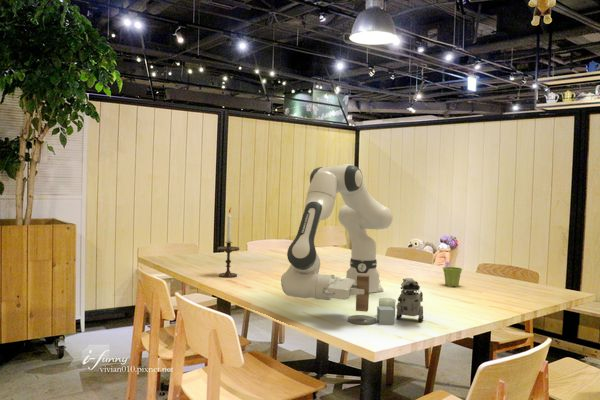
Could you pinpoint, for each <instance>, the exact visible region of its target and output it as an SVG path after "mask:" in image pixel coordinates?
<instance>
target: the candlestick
mask: <svg viewBox="0 0 600 400" xmlns="http://www.w3.org/2000/svg"><path fill="white" fill-rule="evenodd" d="M231 210H232V208H231V207H230V208H229V210H228V214H227V219H226V220H227V224H226V228H227V229H226V242H224V243H226V246H218V247H217V251H221V252H225V253H226V260H225V264H226V265H225V267H226V271H225V272H221V273H218V277H220V278H227V279H229V278H236V277H238V274H237V273H234V272H232V271H230V270H231V269H230V268H231V263H232V260H231V258H230V257H231V253H232V252H237V251H240V247H238V246H232V245H231V244H233V242H232V240H231V239H232V237H231V236H232V215H231Z"/></svg>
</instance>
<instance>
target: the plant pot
mask: <svg viewBox="0 0 600 400" xmlns="http://www.w3.org/2000/svg"><path fill="white" fill-rule="evenodd" d="M462 270H463V268H462V267H459V266H458V267H457V266H444V267H442V271H443V273H444V283H445V286H446V287H450V288H453V287H456V288H457V287H459V285H460V279H461V273H462Z"/></svg>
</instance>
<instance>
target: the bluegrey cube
mask: <svg viewBox="0 0 600 400" xmlns="http://www.w3.org/2000/svg"><path fill="white" fill-rule="evenodd" d="M376 307H377V308H376V319H377V322H378V324H379V325H395V317H394V314H395V315H396V309H395V310H394V309H393V308H392V307H382V306H379V305H378V306H376Z"/></svg>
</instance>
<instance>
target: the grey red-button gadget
mask: <svg viewBox="0 0 600 400" xmlns="http://www.w3.org/2000/svg"><path fill="white" fill-rule="evenodd" d="M400 285H401V286H400V295H399V296H398V298H397V304H395V309H396V314H395V319H396V320H400V319H401V318H402V317H403V316H406V317H417V316H418V318H417V322H418V323H423V321H424V306H423V305H421V303H422V302H424V301H423V299H424V297H423V292H422V291H420V288H421V286H420V284H419V282H418V281H417V280H414V278H412V277H411V278H410V277H407V278H402V283H401V284H400Z"/></svg>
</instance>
